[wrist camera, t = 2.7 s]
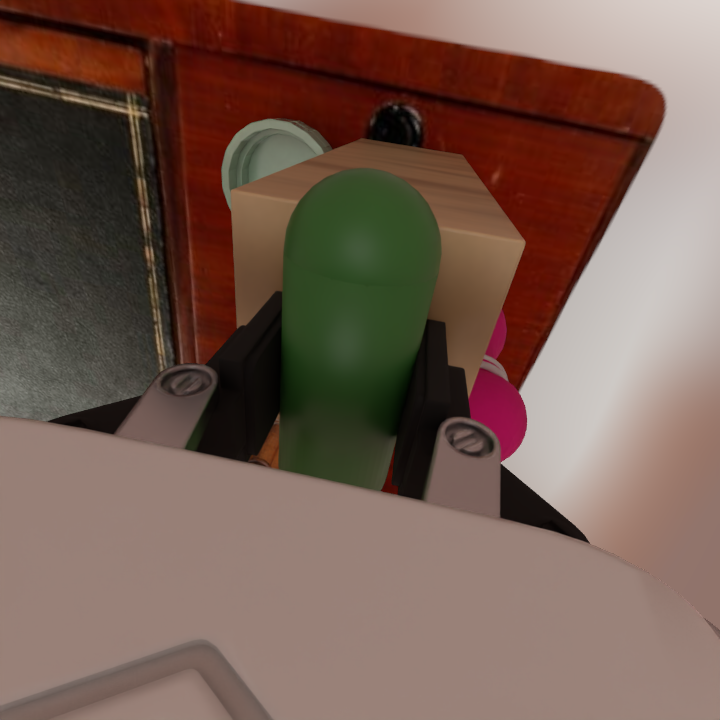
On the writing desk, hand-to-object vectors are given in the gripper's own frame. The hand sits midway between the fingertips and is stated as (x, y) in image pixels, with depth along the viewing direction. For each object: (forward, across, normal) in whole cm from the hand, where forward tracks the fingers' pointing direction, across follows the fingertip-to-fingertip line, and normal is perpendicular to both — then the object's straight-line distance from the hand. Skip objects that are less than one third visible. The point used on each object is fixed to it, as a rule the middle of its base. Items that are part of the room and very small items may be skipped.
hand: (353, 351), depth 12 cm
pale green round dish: (+24, +10, 0) cm, 26 cm away
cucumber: (0, 0, 0) cm, 0 cm away
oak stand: (+24, 0, 0) cm, 24 cm away
